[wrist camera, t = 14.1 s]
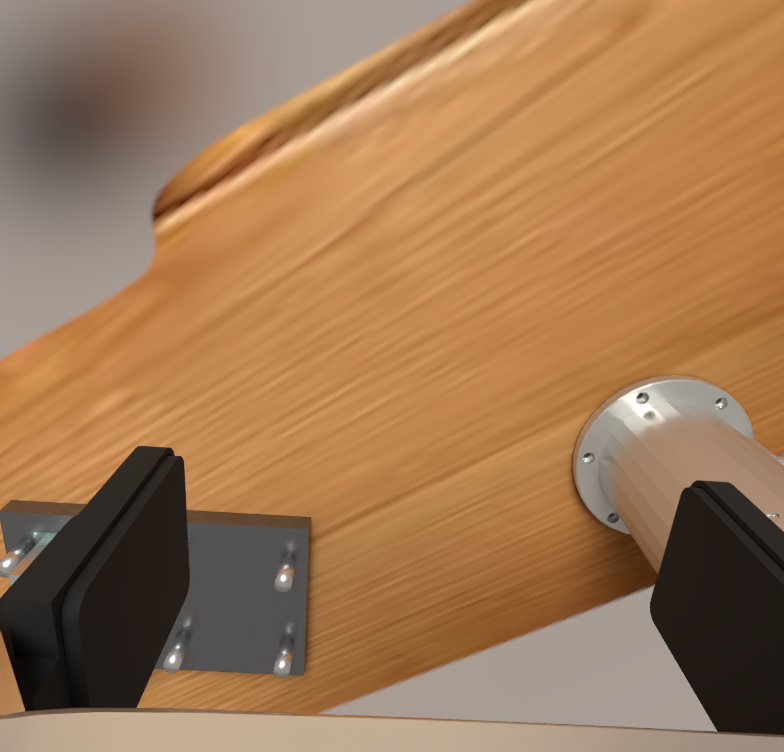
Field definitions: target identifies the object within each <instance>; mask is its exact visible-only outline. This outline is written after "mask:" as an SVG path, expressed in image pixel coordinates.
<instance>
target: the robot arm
mask: <svg viewBox="0 0 784 752" xmlns="http://www.w3.org/2000/svg"><path fill="white" fill-rule="evenodd" d="M638 394H640V395H639V396H637V395H638ZM586 453H587V454H586ZM585 454H586V455H585ZM573 475H574V481H575V485H576V487H577V490H578V492H579V494H580V497H581V498H582V500H583V501H584V503H585V505H586V506H587V508H588V509H589V510H590V511H591V513H592V514H593V515H594V516H595V517H596V518H597V519H598V520H600V521H601V522H602V523H604V524H605V525H606V526H608V527H610V528H612V529H615V530H617V531H619V532H621V533H625V534H629V535H632V537H633V538H634V540H635V541H636V543H637V544H638V546H639V547H640V549H641V550H642V552H643V553H644V555H645V556H646V558H647V559H648V561H649V562H650V564H651V565H652V567H653V568H654V570H655V571H656V573H657V574H658V576H657V580H656V583H655V587H654V590H653V594H652V598H651V602H650V612H651V617H652V620H653V622H654V624H655V626H656V627H657V629H658V631H659V632H660V634H661V636H662V638H663V639H664V641H665V643H666V644H667V646H668V648H669V650H670V651H671V653H672V655H673V656H674V658H675V660H676V661H677V663H678V665H679V667H680V668H681V670H682V672H683V673H684V675H685V677H686V678H687V680H688V682H689V683H690V685H691V687H692V689H693V690H694V692H695V694H696V695H697V697H698V699H699V701H700V702H701V704H702V706H703V707H704V709H705V711H706V713H707V714H708V716H709V718H710V719H711V721H712V723H713V724H714V726H715V728H716V730H717V731H718V732H713V731H692V730H673V729H652V728H632V727H610V726H589V725H568V724H546V723H522V722H501V721H478V720H455V719H453V720H452V719H432V718H407V717H382V716H381V717H380V716H356V715H329V714H328V715H327V714H303V713H277V712H251V711H225V710H199V709H174V708H136V707H137V705H138V703H139V701H140V699H141V696H142V694H143V692H144V690H145V688H146V685H147V683H148V681H149V679H150V676H151V674H152V672H153V670H154V668H155V665H156V663H157V661H158V659H159V657H160V654H161V652H162V650H163V648H164V646H165V643H166V641H167V639H168V637H169V635H170V632H171V630H172V628H173V626H174V624H175V621H176V619H177V617H178V615H179V613H180V610H181V608H182V606H183V604H184V601H185V599H186V597H187V594H188V590H189V583H190V567H189V548H188V529H187V510H186V491H185V471H184V460H183V458H182V457H181V456H174V452H173V450H172V449H171V448H165V447H149V446H138V447H137V448H135V450H134V451H133V452H132V453H131V454H130V455H129V457H128V458H127V459H126V460H125V461H124V462H123V463H122V465H121V466H120V467H119V468H118V469H117V470H116V471H115V473H114V474H113V475H112V476H111V477H110V478H109V480H108V481H107V482H106V483H105V484H104V485H103V486H102V488H101V489H100V490H99V491H98V492H97V493H96V495H95V496H94V497H93V498H92V499H91V500H90V501H89V503H88V504H87V505H86V506H85V507H84V508H83V510H82V511H81V512H80V513H79V514H78V515H76V516H74V517H72V518H71V519H70V520H69V521H68V522H67V523H66V524H65V525H64V526H63V528H62V529H61V530H60V531H59V532H58V533H57V534H56V535H55V537H54V538H53V539H52V540H51V541H50V542H49V543H48V545H47V546H46V547H45V548H44V549H43V550H42V551H41V553H40V554H39V555H38V556H37V557H36V558H35V559H34V560H33V562H32V563H31V564H30V565H29V566H28V567H27V568H26V570H25V571H24V572H23V573H22V574H21V575H20V576H19V578H18V579H17V580H16V581H15V582H14V583H13V584H12V586H11V587H10V588H9V589H8V590H7V591H6V592H5V593H4V595H3V596H2V597H1V598H0V752H784V455H778V456H775V455H774V454H773V453H771V452H770V451H769V450H767V449H766V448H764V447H763V446H762V445H760V444H759V443H758V442H756V441H755V440H754V432H753V429H752V425H751V422H750V419H749V418H748V416H747V414H746V412H745V411H744V409H743V407H742V406H741V405H740V404H739V403H738V402H737V401H736V400H735V399H734V398H733V397H732V396H731V395H729V394H728V393H727V392H725V391H724V390H722V389H721V388H719V387H717V386H716V385H714V384H712V383H710V382H708V381H706V380H702V379H698V378H694V377H691V376H679V375H669V376H660V377H653V378H650V379H647V380H643V381H640V382H637V383H635V384H633V385H630V386H628V387H626V388H624V389H622V390H620V391H619V392H617V393H616V394H615V395H613V396H612V397H610V398H609V399H607V400H606V401H605V402H604V403H603V404H602V405H601V406H600V407H599V408H598V409H597V410H596V411H595V412H594V413H593V414H592V416H591V417H590V418H589V420H588V421H587V423H586V424H585V425H584V427H583V429H582V431H581V433H580V435H579V438H578V440H577V443H576V447H575V450H574V454H573Z"/></svg>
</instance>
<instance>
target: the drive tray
mask: <svg viewBox="0 0 784 752" xmlns="http://www.w3.org/2000/svg"><path fill="white" fill-rule="evenodd" d="M85 506H86V504H69V503H51V502H34V501H17V500H11V501H10V502H9V503H8V504H7V505H6V506H4V507H3V508H2V509H1V510H0V521H1V527H2V532H3V538H4V543H5V549H6V556H5V557H4V558H3V559H2V560H1V561H0V576H1V577H5V578H6V577H9V574H10V573H11V572H12V571H13V570H14V569H15V567H16V566H17V565H18V564H19V563H20V562H21V561H22V560H23V559H24V558H25V556H26V555H27V554H28V553H29V552H30V551H31V550H32V549H33V548H34V547H35V545H36V544H37V543H38V542H39V541H40V540H41V539H42V538H48V539H53V538H54V537H55V535H56V534H57V533H58V532H59V531H60V530H61V529H62V528H63V526H64V525H65V524H66V523H67V522H68V521H69V520H70V519H71V518H72V517H74V516H76V515H78V514H79V513H80V512H81V511H82V510H83V508H84V507H85ZM310 521H311V517H295V516H278V515H261V514H243V513H226V512H208V511H191V510H187V529H188V548H189V567H190V583H189V590H188V594H187V597H186V599H185V601H184V604H183V606H182V608H181V610H180V613H179V615H178V617H177V619H176V621H175V624H174V626H173V628H172V630H171V632H170V635H169V637H168V639H167V641H166V643H165V646H164V648H163V650H162V652H161V654H160V657H159V659H158V661H157V663H156V665H155V669H164V670H165V671H167V672H170V673H174V672H177V671H178V670H198V671H219V672H241V673H262V674H275V676H277V677H279V678H284V677H287V676H288V675H304V669H305V663H306V641H307V611H308V581H309V551H310Z"/></svg>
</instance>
